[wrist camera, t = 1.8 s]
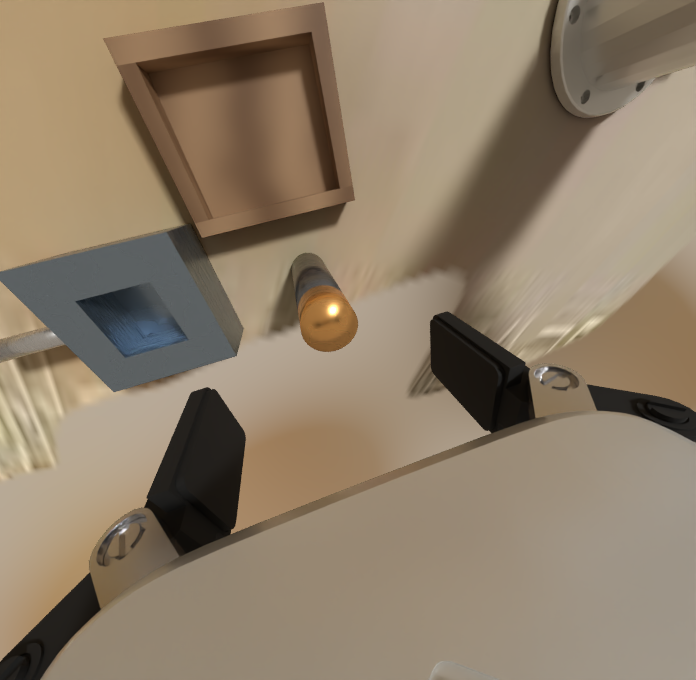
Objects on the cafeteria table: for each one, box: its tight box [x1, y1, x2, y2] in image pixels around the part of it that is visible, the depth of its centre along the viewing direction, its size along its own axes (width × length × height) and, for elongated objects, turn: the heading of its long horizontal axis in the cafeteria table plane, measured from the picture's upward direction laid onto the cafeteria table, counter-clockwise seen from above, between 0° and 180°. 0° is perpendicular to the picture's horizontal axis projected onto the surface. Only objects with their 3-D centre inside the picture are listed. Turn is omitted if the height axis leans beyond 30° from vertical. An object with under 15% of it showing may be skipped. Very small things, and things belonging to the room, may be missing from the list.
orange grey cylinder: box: [292, 253, 358, 352], centre depth 19 cm, size 3×3×12 cm
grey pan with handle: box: [0, 224, 244, 392], centre depth 19 cm, size 16×10×5 cm, turn 101°
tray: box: [103, 2, 355, 238], centre depth 17 cm, size 12×10×2 cm
